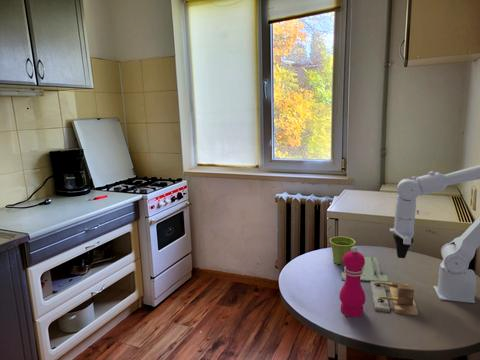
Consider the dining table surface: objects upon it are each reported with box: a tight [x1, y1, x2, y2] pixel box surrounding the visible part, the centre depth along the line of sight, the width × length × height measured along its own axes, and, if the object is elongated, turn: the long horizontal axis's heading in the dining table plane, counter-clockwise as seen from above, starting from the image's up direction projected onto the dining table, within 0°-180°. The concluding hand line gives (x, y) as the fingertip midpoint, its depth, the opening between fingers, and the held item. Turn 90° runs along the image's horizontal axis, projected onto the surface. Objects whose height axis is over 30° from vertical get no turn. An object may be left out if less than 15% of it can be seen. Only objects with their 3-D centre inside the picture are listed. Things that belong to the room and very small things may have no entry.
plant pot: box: [329, 235, 356, 266], centre depth 134 cm, size 9×9×9 cm
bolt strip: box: [369, 281, 391, 313], centre depth 109 cm, size 4×16×1 cm, turn 164°
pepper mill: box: [339, 246, 367, 318], centre depth 100 cm, size 7×7×20 cm
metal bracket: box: [341, 255, 389, 283], centre depth 124 cm, size 14×6×15 cm
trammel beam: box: [375, 281, 419, 316], centre depth 108 cm, size 10×16×2 cm, turn 165°
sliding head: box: [379, 284, 415, 305], centre depth 103 cm, size 9×2×5 cm, turn 74°
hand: (401, 257), depth 113 cm, fingers closed
